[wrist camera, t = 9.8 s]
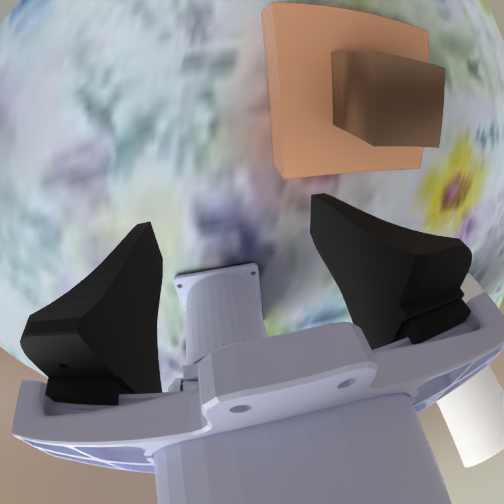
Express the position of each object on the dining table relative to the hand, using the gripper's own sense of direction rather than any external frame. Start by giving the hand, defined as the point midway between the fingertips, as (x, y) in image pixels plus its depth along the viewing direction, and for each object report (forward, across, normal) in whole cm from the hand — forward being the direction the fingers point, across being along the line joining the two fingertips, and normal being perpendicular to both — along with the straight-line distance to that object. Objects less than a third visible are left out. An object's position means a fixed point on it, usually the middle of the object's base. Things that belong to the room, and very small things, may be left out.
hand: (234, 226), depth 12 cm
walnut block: (+6, -10, -5) cm, 13 cm away
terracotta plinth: (+9, -10, -5) cm, 15 cm away
